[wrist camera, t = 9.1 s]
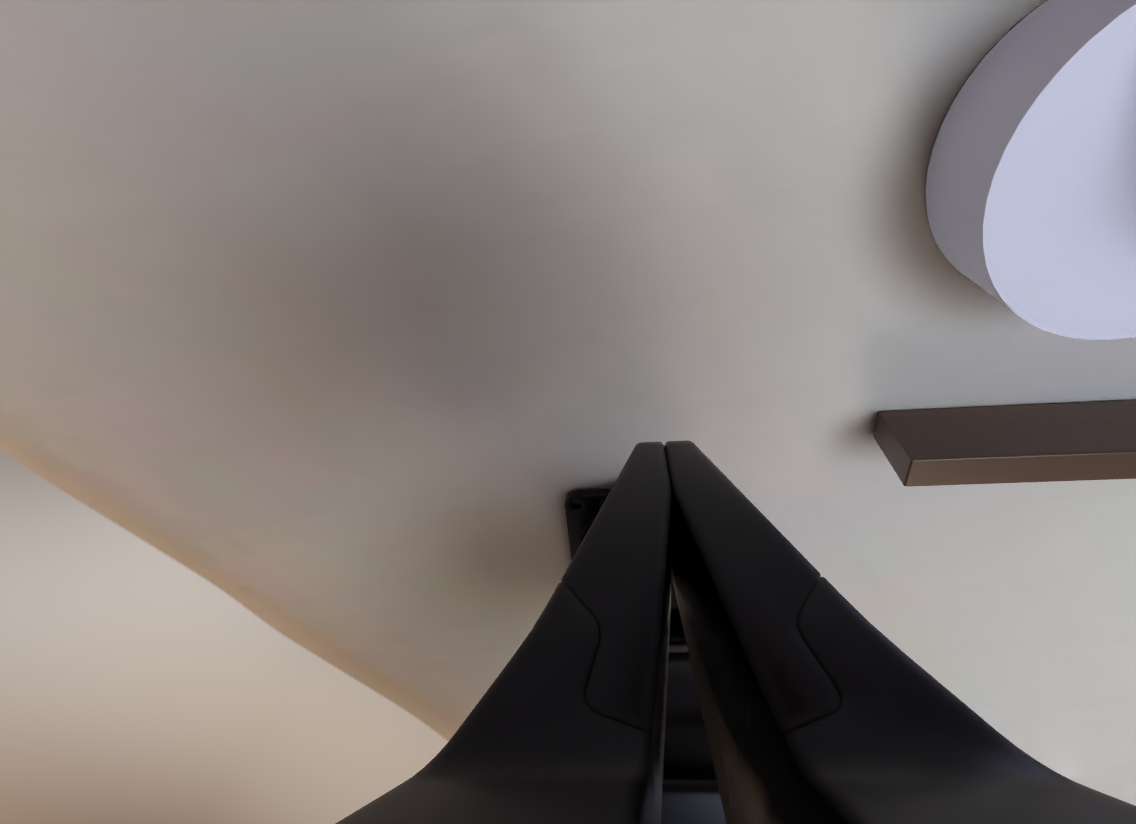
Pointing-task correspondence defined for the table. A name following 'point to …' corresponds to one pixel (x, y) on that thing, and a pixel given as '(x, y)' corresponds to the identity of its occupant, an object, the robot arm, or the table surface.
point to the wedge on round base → (1047, 171)
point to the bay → (1010, 443)
